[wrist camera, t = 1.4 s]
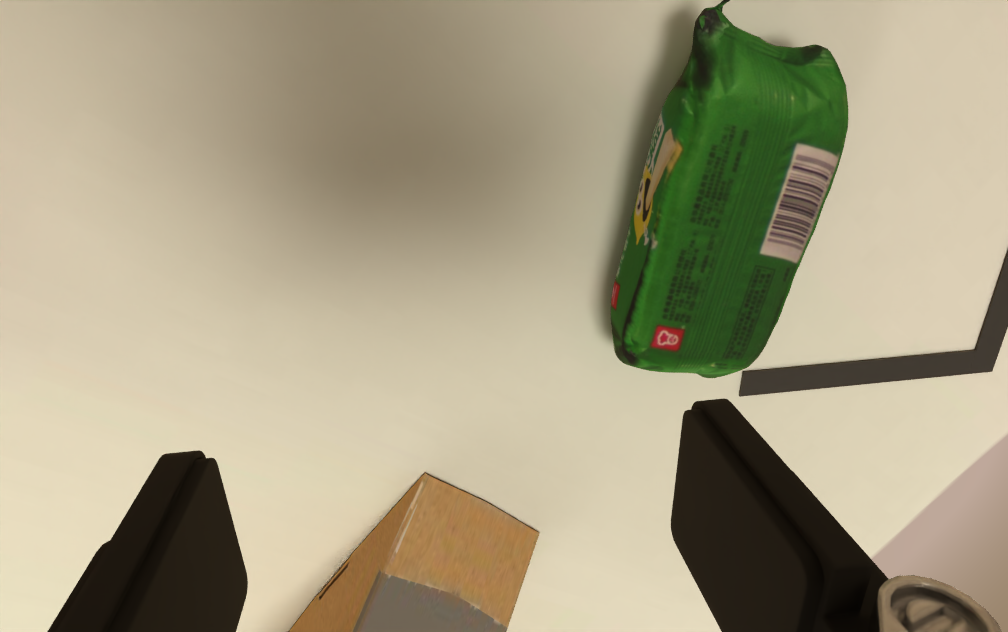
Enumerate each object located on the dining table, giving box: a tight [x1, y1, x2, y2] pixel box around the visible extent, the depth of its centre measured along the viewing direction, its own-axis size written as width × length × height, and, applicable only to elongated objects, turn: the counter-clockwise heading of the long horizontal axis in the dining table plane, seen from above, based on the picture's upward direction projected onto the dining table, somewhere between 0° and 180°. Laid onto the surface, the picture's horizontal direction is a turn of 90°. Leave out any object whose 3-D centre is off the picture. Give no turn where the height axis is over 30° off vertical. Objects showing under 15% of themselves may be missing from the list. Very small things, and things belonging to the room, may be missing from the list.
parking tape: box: [739, 252, 1008, 396], centre depth 30 cm, size 22×15×1 cm
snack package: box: [611, 0, 848, 378], centre depth 26 cm, size 7×16×5 cm, turn 170°
